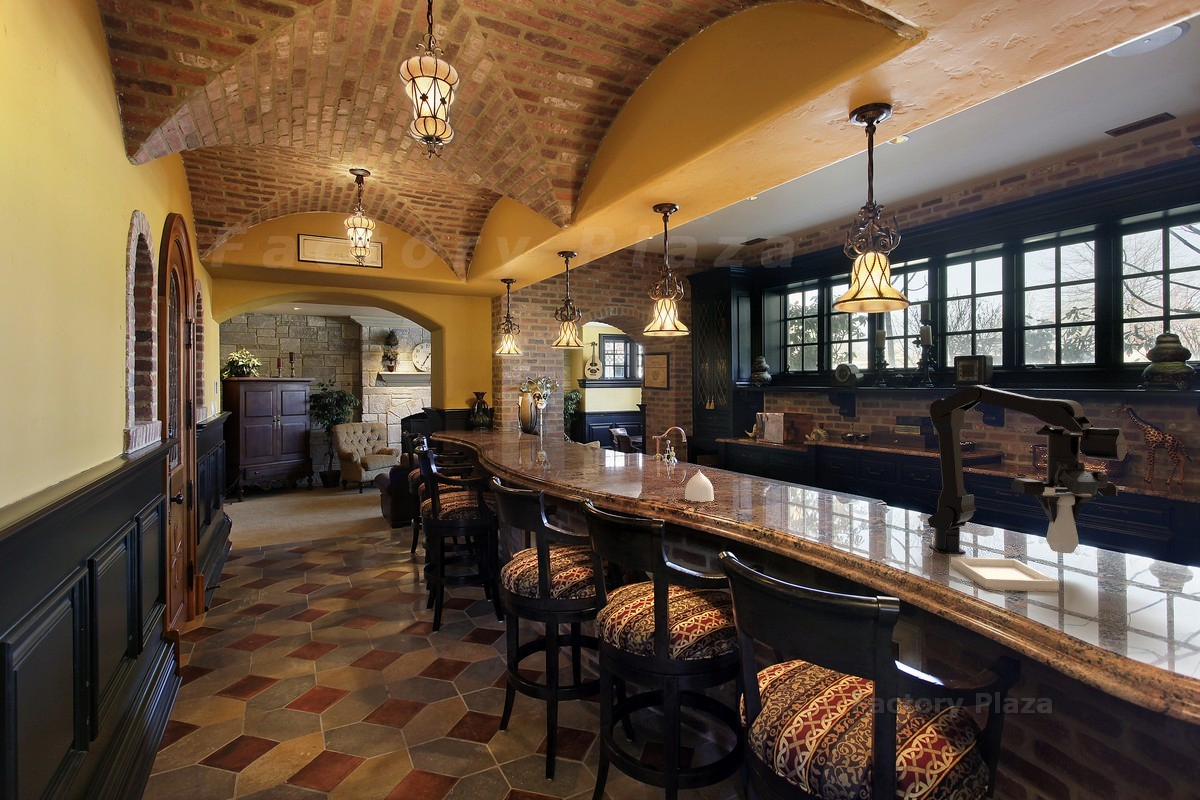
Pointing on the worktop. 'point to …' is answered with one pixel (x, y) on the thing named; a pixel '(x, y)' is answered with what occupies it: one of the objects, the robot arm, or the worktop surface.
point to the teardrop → (699, 489)
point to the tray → (1004, 574)
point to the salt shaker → (1063, 526)
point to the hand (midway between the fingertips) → (1062, 525)
